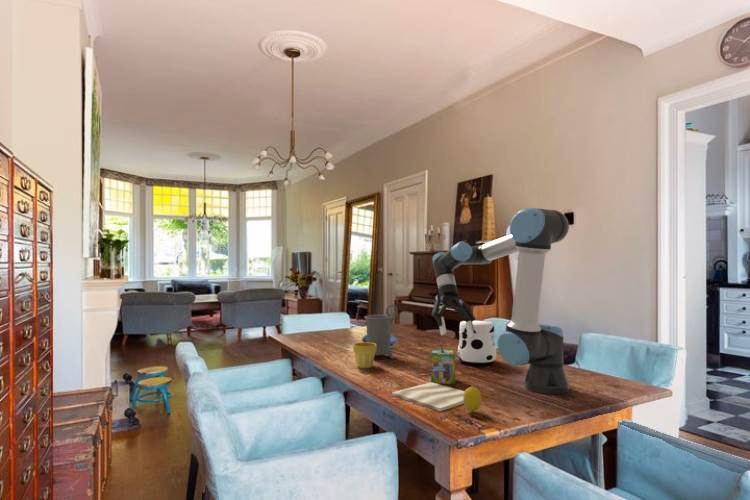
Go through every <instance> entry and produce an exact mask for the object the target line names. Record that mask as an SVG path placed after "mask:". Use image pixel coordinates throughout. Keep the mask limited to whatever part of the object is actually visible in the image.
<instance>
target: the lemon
mask: <svg viewBox="0 0 750 500" xmlns="http://www.w3.org/2000/svg"><path fill="white" fill-rule="evenodd" d="M464 391H465V392H464V396H463V401H464V404H463V405H464V406H465V408H466V409H467V410H469V411H470V412H471V413H475V411H478V409H480V407H481V406H482V399H483V398H482V393H481V392H480V390H479V389H478V388H476V387H474V386H473V385H471V386H470V387H467V388H466V389H465V390H464Z"/></svg>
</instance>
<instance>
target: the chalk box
mask: <svg viewBox="0 0 750 500" xmlns="http://www.w3.org/2000/svg"><path fill="white" fill-rule="evenodd" d="M439 345H440V349H431V351H430V372H431V373H430V374H431V375H430V377H431V378H430V379H431V380H430V382H432V383H436V384H440V385H456V382H457V381H456V356H455V350H454V349H444V348H443V346H442V342H439Z"/></svg>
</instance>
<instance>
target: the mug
mask: <svg viewBox="0 0 750 500" xmlns="http://www.w3.org/2000/svg"><path fill="white" fill-rule="evenodd" d="M391 307H393V308H394V310H395V312H394V311H392V313H391V314H389V308H391ZM385 313H386V314H369V315H365V316H364V320H365V322H366V342H369V343H375V344H376V345H377V350H376V353H375V355H374V356H378V355H379V356H381V355H382V356H383V355H386V356H389V358H391V359H392V360H394V356H393V353H392V352H391V346H392V345H391V342H392V341H391V338H392V337H391V333H392V332H391V330H392V329H391V328H392V324H393V322H394V320H395V318H396V317H397V314H398V307H397V305H396V304H389V305H388V306H387V307H386V308H385Z"/></svg>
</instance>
